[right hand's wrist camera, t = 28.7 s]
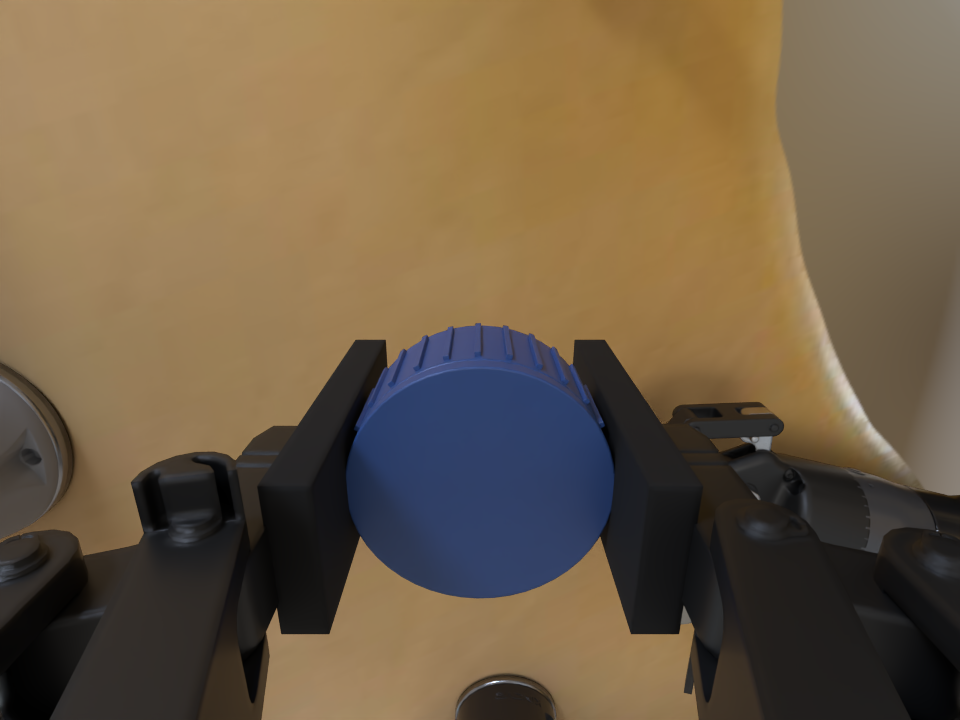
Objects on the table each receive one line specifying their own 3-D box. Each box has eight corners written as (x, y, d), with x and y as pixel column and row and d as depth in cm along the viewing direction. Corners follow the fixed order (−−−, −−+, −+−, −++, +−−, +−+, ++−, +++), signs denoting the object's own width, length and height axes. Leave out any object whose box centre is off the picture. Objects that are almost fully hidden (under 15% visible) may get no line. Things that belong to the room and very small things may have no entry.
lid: (328, 464, 12) (294, 532, 10) (437, 276, 11) (426, 307, 9) (515, 557, 13) (522, 638, 11) (640, 395, 12) (677, 452, 9)
